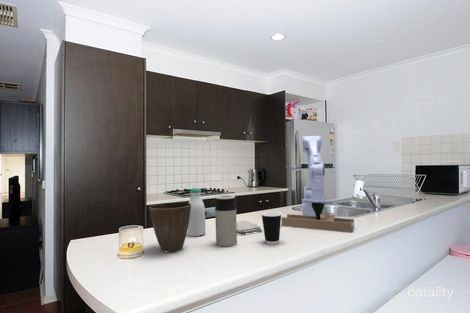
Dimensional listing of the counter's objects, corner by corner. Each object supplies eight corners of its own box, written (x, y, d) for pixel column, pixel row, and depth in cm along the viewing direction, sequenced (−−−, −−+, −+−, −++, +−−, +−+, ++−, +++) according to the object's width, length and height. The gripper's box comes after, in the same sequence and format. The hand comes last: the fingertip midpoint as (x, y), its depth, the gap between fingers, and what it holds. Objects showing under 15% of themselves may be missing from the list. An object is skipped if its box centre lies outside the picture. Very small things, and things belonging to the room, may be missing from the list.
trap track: (281, 225, 132) (281, 217, 132) (287, 222, 140) (287, 214, 140) (351, 232, 116) (351, 223, 116) (354, 227, 124) (353, 219, 124)
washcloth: (240, 237, 116) (240, 229, 116) (222, 228, 132) (222, 222, 132) (264, 232, 122) (264, 225, 122) (243, 225, 138) (243, 219, 138)
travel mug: (239, 241, 108) (238, 195, 109) (233, 247, 101) (232, 198, 101) (220, 240, 110) (218, 195, 111) (213, 246, 103) (211, 197, 103)
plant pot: (147, 257, 92) (146, 209, 92) (152, 244, 107) (151, 203, 107) (193, 253, 95) (191, 207, 95) (191, 241, 110) (190, 201, 110)
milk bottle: (207, 235, 118) (206, 188, 118) (189, 238, 115) (188, 189, 115) (202, 231, 125) (201, 187, 125) (186, 233, 122) (184, 188, 123)
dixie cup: (285, 244, 102) (284, 214, 103) (264, 246, 101) (263, 216, 101) (279, 238, 110) (278, 211, 110) (259, 240, 109) (258, 212, 109)
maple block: (320, 223, 125) (320, 214, 125) (323, 220, 129) (322, 212, 129) (332, 224, 122) (331, 214, 122) (334, 221, 126) (334, 212, 126)
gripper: (299, 190, 128) (300, 219, 128) (332, 191, 121) (333, 222, 120) (304, 188, 134) (304, 217, 134) (335, 189, 127) (336, 219, 126)
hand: (318, 219), depth 127 cm, fingers closed
